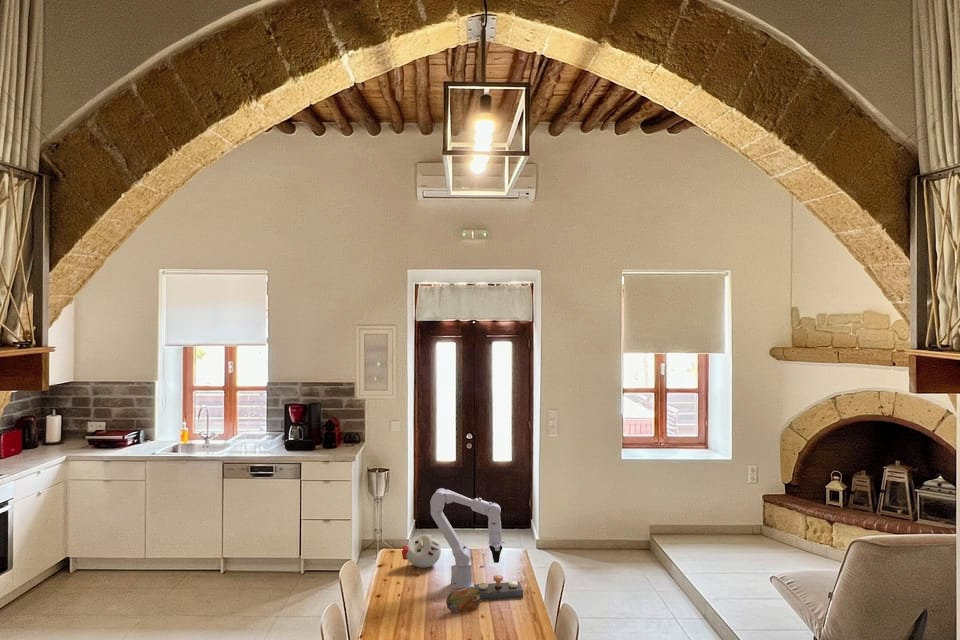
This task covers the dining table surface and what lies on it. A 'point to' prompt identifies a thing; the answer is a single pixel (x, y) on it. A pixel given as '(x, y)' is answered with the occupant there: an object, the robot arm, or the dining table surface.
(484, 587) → the knob
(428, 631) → the dining table surface
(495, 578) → the middle knob
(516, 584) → the knob
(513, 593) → the knob plate
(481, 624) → the dining table surface
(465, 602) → the multicolored oval slab
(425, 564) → the decorative object
